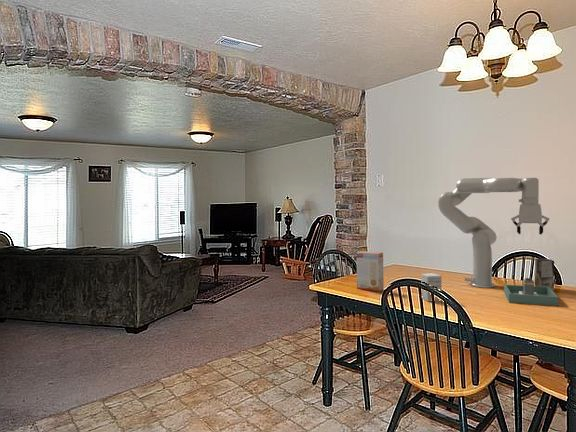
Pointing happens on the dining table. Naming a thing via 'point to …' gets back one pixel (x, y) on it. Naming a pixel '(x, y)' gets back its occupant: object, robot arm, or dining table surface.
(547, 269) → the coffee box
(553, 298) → the walled box
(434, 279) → the supplement box
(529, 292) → the connector
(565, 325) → the dining table surface
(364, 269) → the cracker box
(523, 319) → the dining table surface
